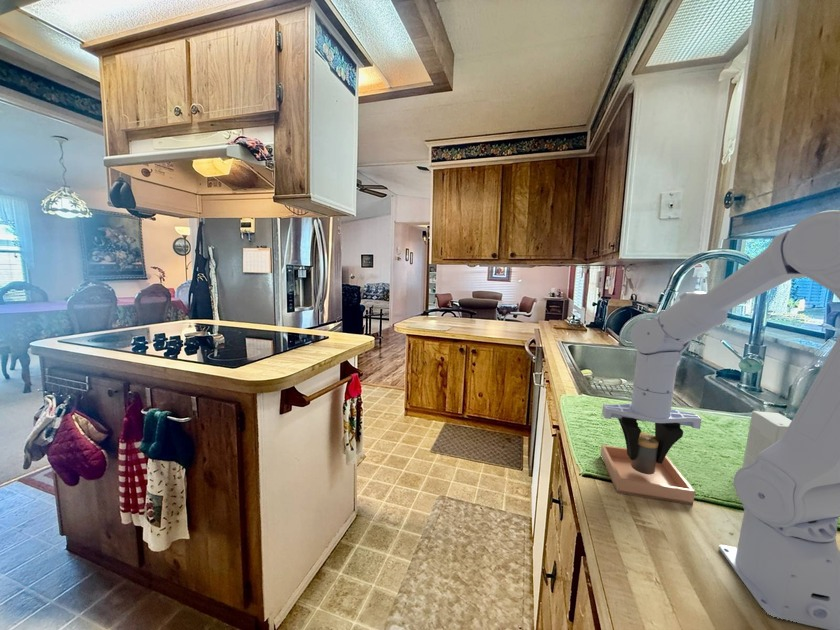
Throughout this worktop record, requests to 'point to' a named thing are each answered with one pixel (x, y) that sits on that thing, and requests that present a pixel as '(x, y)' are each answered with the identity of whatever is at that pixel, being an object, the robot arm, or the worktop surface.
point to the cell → (646, 454)
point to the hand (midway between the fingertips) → (644, 458)
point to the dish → (646, 478)
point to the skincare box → (763, 433)
